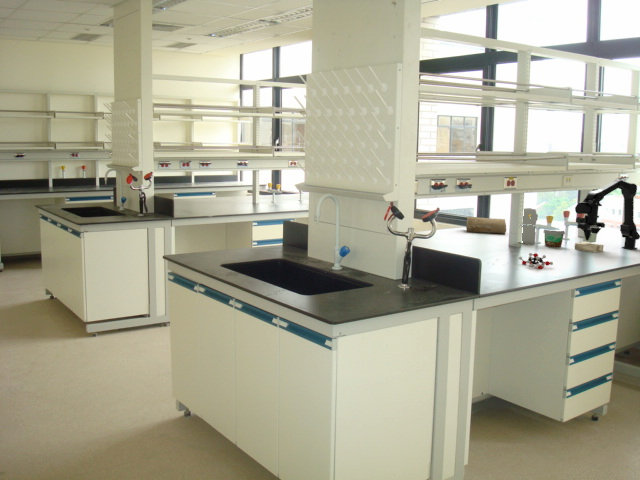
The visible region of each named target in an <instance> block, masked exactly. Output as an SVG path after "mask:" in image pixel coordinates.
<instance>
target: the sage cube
mask: <svg viewBox="0 0 640 480" xmlns="http://www.w3.org/2000/svg"><path fill="white" fill-rule="evenodd" d="M597 236H598V233H597V234H596V233H591V234H590V237H589V239H588V240H586V238H585V234H584V233H583V239H582V241H583V242H589V243H596V242H597Z"/></svg>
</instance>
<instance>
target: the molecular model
mask: <svg viewBox="0 0 640 480" xmlns="http://www.w3.org/2000/svg"><path fill="white" fill-rule="evenodd" d="M532 256H533V257H532ZM546 258H547V255H546V254H543V255H542V257H539V255H538V253H536V252H535V253H531V252H529V253H528V259H527V260H524V259H523V257H522V256H519V257H518V259H519V260H521V265H527V264H529V265H528V266H529V267H530V268H532V267H533V266H534V265H535V266H536V267H537V269H538V270H542V269H545V266H547V267H548V266H552V265H554V263H553V261H549V260H547V261H544V260H543V259H546Z"/></svg>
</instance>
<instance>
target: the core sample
mask: <svg viewBox="0 0 640 480" xmlns="http://www.w3.org/2000/svg"><path fill="white" fill-rule="evenodd" d="M466 219H467V220H466V225H465V227H466V228H465V229H466V232H469V233H482V234H484V233H485V234H500V235H505V234H506V232H507V225H506V224H507V223H506V219H505V218H492V217H491V218H490V217H489V218H488V217H476V216H475V217H474V216H468V217H467V218H466Z"/></svg>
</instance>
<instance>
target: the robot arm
mask: <svg viewBox="0 0 640 480" xmlns="http://www.w3.org/2000/svg"><path fill="white" fill-rule="evenodd" d="M617 189H619V190H620V192H621V194H622V197H623V201H624V202H623V206H624V207H623V213H624V216H623V217H624V219H623V223H622V224H620V225H619V226H620V228H619V231H620V233H621V237H622V238H624V244H623V245H624V246H621V248H622V249H627V250H637V249H638V247H636V241H638V240H640V234H639V232H638V231H637V230H638V229H637V225H636V223H635V221H634V208H635V207H634V202H635V201H634V198H635V196H636V195H637V191H638V185H637V184H636V183H634V182H633V183H632V182H627V181H625V180H622V179H615V180H613V181H611V182H610V183H608V184H606V185H604V186H603V187H601V188H600V189H596V190H593V191H590V192H587V195H586V197H584V199H583V201H582V202H581V201H579V202H577V204H576V206H574V207H575V208H574V210H575V213H576V214H577V215H584V217H582V216H578V217H576V219H575V223H577V226H576V227H577V229H580V230H582V231H583V235H584V234H585V238H586V240H588V239H589V237H590V234H591V233H596V234H597V235H598V233H599V232H600V231H601V230H602V228H603V229H604V228H606V224H605V222H601V221H598V218H600V215H599V207H602V206H603V205H602V203H600V202H602V200H604V198H605V196H607V195H609V194H611V193H612V192H614V191H616V190H617Z"/></svg>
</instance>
